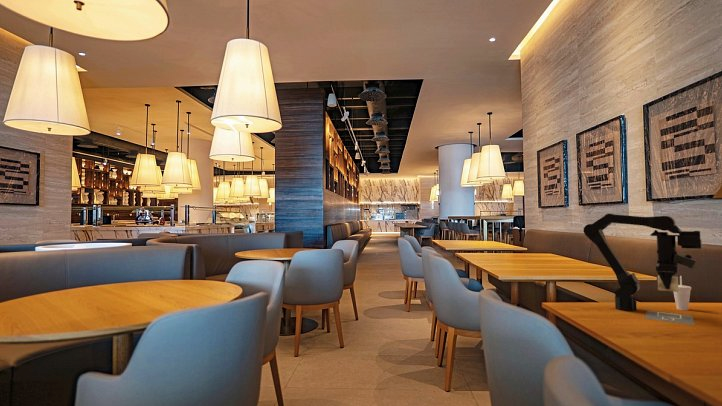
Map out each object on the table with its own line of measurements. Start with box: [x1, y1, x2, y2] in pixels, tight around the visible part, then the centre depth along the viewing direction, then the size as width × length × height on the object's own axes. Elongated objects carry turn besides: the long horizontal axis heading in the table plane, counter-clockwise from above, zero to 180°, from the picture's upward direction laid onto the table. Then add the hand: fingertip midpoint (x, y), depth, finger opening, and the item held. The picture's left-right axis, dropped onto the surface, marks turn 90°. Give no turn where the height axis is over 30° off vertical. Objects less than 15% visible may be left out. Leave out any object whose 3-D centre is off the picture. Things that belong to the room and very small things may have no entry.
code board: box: [644, 310, 695, 326], centre depth 141 cm, size 14×15×1 cm
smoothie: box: [673, 275, 692, 311], centre depth 157 cm, size 6×6×14 cm
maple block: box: [657, 275, 679, 293], centre depth 144 cm, size 6×6×5 cm
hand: (667, 287), depth 144 cm, fingers closed on maple block, 6 cm apart
